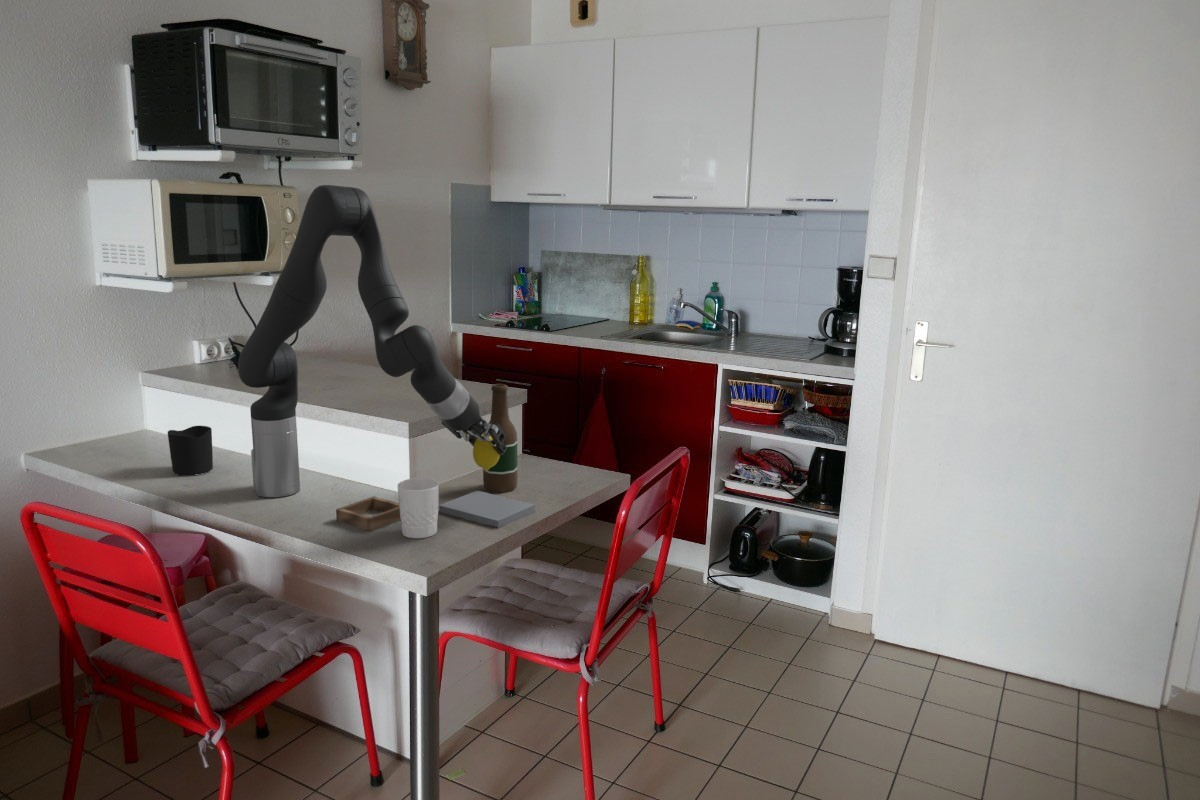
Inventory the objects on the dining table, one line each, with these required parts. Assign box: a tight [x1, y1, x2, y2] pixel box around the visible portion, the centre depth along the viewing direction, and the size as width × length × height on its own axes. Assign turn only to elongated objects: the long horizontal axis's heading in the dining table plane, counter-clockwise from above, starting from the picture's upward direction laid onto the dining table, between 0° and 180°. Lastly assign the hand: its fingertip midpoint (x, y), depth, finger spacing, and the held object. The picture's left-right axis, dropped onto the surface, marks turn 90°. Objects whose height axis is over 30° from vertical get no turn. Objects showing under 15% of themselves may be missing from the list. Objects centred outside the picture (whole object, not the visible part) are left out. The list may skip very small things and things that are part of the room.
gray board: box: [438, 490, 536, 529], centre depth 185 cm, size 16×12×2 cm
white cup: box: [397, 477, 440, 539], centre depth 172 cm, size 8×8×10 cm
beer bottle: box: [482, 383, 518, 494], centre depth 198 cm, size 8×8×24 cm
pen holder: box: [167, 425, 214, 476], centre depth 208 cm, size 9×9×10 cm
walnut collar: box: [335, 495, 401, 532], centre depth 179 cm, size 10×10×2 cm
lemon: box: [472, 434, 500, 471], centre depth 182 cm, size 6×6×8 cm
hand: (491, 449), depth 183 cm, fingers closed on lemon, 5 cm apart
